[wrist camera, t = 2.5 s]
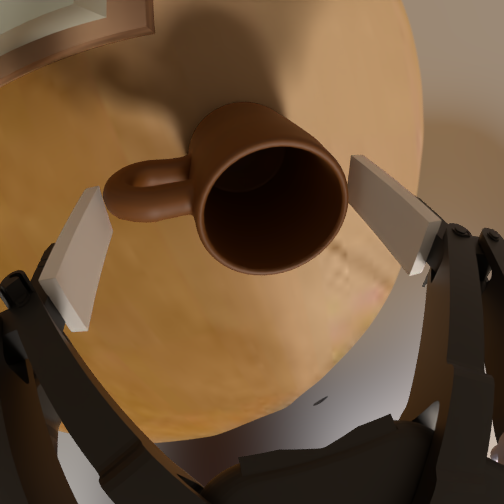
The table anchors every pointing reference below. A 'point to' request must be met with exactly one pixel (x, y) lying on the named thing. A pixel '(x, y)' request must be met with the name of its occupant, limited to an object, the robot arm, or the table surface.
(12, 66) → the base block
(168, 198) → the mug
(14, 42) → the top block
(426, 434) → the robot arm
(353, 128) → the table surface
